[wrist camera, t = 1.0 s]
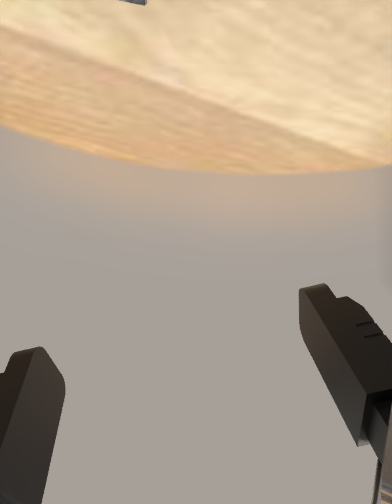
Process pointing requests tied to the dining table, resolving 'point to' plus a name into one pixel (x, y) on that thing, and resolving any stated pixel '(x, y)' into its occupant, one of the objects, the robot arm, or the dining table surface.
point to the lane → (137, 1)
